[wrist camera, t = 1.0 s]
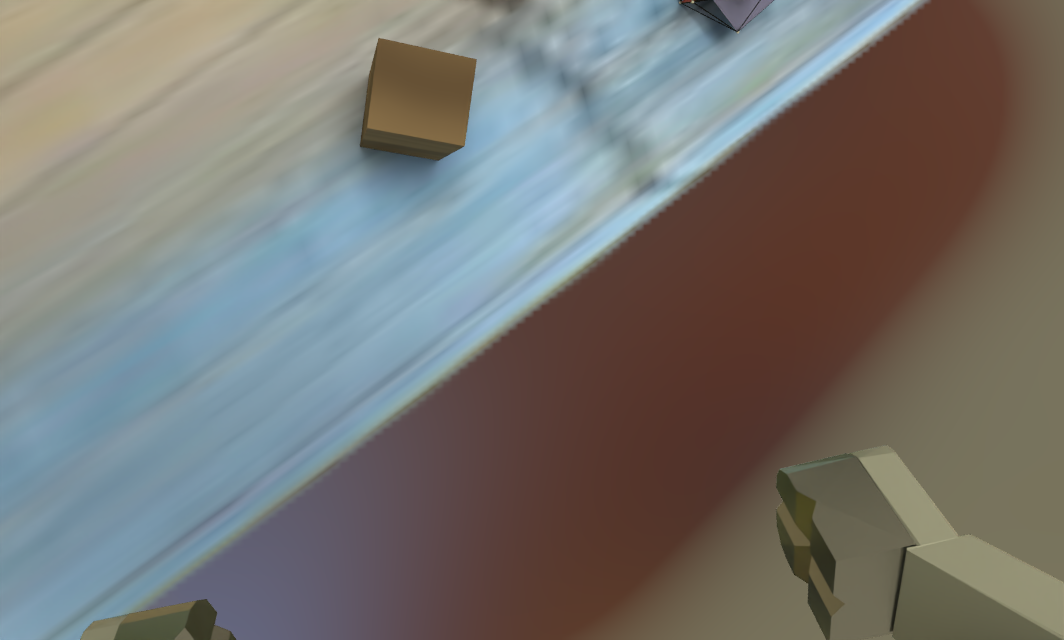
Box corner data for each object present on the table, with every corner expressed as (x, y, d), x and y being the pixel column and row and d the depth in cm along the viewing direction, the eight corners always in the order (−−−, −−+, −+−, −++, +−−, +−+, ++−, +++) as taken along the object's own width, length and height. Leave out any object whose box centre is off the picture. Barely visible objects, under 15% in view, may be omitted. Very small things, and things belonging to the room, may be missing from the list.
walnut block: (438, 160, 44) (464, 146, 35) (360, 146, 43) (367, 127, 34) (448, 91, 44) (476, 59, 35) (369, 75, 42) (378, 38, 34)
